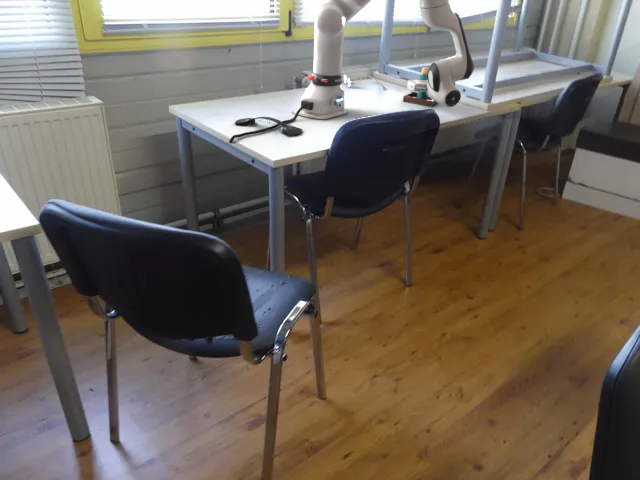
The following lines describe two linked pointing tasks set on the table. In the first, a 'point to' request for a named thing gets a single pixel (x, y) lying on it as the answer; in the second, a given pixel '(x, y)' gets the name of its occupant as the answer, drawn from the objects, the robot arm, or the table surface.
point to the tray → (418, 99)
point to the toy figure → (423, 77)
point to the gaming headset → (286, 129)
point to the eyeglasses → (353, 81)
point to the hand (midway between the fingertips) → (423, 81)
